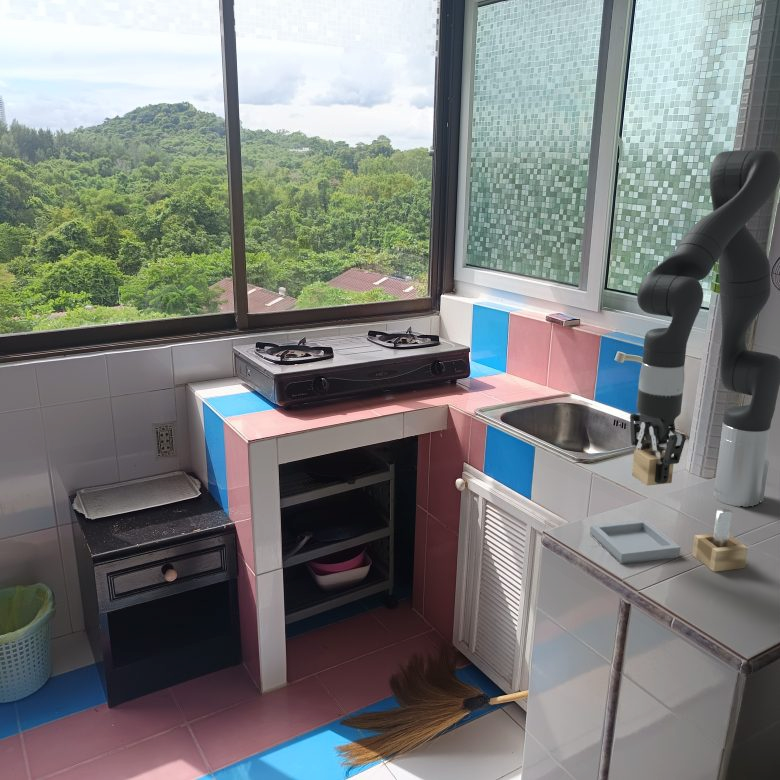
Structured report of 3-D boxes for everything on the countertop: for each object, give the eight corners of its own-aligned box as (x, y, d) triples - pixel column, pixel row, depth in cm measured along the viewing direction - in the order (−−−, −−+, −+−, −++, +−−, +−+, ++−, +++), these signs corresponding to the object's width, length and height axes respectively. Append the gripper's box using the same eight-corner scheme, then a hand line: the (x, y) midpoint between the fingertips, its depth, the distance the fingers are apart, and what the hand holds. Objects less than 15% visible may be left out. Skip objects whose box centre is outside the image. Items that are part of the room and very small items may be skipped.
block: (655, 472, 139) (658, 447, 138) (671, 482, 134) (674, 456, 133) (631, 475, 138) (634, 449, 137) (647, 485, 133) (649, 459, 132)
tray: (644, 528, 149) (645, 519, 148) (679, 556, 138) (680, 547, 137) (589, 534, 146) (590, 525, 146) (621, 563, 135) (621, 554, 135)
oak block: (722, 551, 140) (724, 531, 139) (744, 567, 134) (747, 547, 133) (692, 554, 138) (694, 535, 137) (713, 571, 132) (716, 551, 131)
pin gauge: (719, 557, 138) (726, 507, 135) (728, 563, 135) (735, 513, 133) (706, 558, 137) (713, 509, 134) (715, 565, 135) (722, 515, 132)
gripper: (705, 397, 126) (694, 489, 130) (655, 376, 139) (647, 460, 144) (666, 400, 124) (656, 494, 129) (620, 379, 137) (612, 464, 142)
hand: (651, 476), depth 136 cm, fingers closed on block, 5 cm apart
